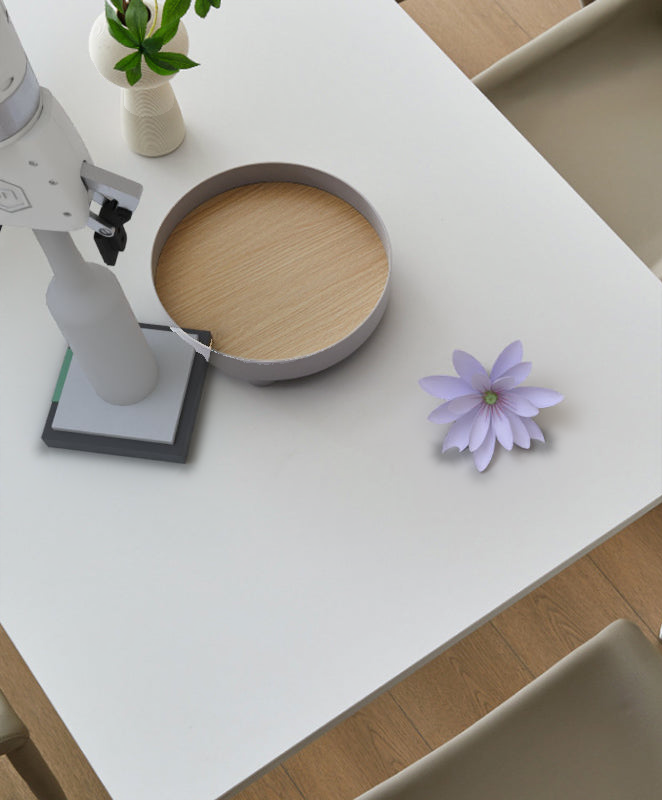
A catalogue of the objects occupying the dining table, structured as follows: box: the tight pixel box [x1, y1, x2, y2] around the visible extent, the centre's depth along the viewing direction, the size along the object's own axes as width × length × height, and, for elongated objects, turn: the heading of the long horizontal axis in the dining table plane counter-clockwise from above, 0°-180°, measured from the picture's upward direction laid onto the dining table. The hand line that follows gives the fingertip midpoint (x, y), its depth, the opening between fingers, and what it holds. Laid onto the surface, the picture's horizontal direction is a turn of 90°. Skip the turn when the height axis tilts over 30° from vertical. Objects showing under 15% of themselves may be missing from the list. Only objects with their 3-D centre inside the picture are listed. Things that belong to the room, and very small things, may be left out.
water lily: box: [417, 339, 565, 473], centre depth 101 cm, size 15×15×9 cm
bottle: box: [30, 228, 159, 406], centre depth 89 cm, size 7×7×28 cm
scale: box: [40, 322, 214, 465], centre depth 103 cm, size 14×14×3 cm
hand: (54, 243), depth 80 cm, fingers open, 9 cm apart
